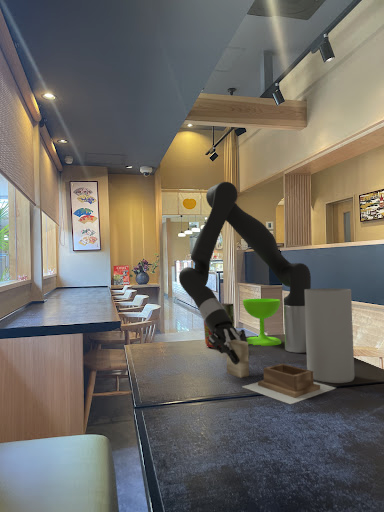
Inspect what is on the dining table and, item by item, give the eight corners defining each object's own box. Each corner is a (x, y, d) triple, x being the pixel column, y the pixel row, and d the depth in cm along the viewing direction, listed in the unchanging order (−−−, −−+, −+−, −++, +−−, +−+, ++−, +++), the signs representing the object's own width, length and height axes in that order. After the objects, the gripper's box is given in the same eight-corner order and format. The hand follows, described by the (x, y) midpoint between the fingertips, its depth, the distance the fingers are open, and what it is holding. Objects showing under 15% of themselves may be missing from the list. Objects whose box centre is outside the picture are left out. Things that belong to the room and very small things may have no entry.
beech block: (235, 372, 110) (234, 339, 110) (249, 376, 105) (248, 342, 105) (227, 374, 108) (226, 340, 108) (240, 379, 103) (240, 343, 103)
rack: (283, 378, 101) (282, 362, 101) (320, 389, 92) (319, 371, 92) (257, 385, 96) (257, 368, 96) (294, 397, 86) (294, 378, 86)
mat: (286, 375, 105) (286, 374, 105) (336, 389, 92) (336, 387, 92) (241, 388, 95) (241, 386, 95) (290, 405, 82) (290, 404, 82)
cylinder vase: (359, 385, 95) (355, 290, 96) (310, 383, 97) (307, 291, 98) (349, 372, 107) (345, 288, 108) (305, 370, 110) (302, 288, 111)
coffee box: (222, 338, 166) (222, 303, 167) (235, 339, 162) (234, 303, 163) (211, 341, 159) (211, 304, 159) (224, 342, 155) (223, 305, 156)
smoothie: (200, 346, 149) (199, 297, 150) (217, 344, 153) (216, 296, 153) (209, 349, 142) (208, 298, 142) (227, 347, 145) (226, 297, 146)
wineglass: (253, 347, 145) (252, 302, 146) (237, 340, 160) (236, 299, 161) (288, 344, 150) (287, 300, 150) (270, 337, 165) (268, 298, 166)
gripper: (202, 309, 109) (230, 358, 99) (236, 306, 117) (265, 350, 107) (192, 325, 113) (218, 373, 103) (226, 321, 121) (253, 365, 111)
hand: (242, 361), depth 105 cm, fingers closed on beech block, 3 cm apart
